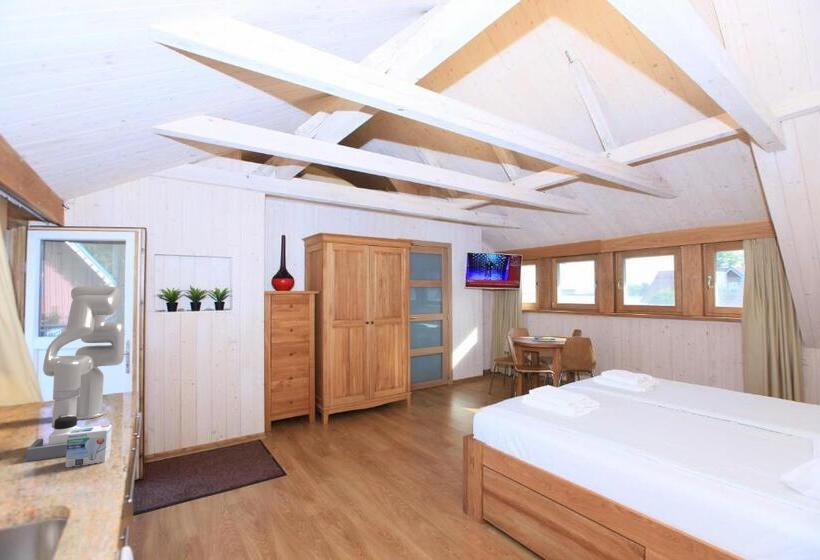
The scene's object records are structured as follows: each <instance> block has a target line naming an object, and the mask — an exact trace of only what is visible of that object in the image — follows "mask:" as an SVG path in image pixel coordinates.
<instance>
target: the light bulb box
mask: <svg viewBox="0 0 820 560" xmlns="http://www.w3.org/2000/svg"><path fill="white" fill-rule="evenodd" d="M112 428H113V426H112V424H110V423H109V424H105V425H94V426H85V427H83V426H82V427H81V428H74V429H73V430H72V431H71V432H70V433H69V434H68V438H67V452H66V456H65V466H64V467H67V468H72V466H75V467H81V466H80V465H82V466H87V465H88V464H90V465H94V463H97V464H101V463H100V462H104V463H106V462H107V460H108V459H109V457H110V456H111V445H112V444H111V442H112ZM109 455H110V456H109ZM107 458H108V459H107ZM105 461H106V462H105Z"/></svg>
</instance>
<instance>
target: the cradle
mask: <svg viewBox="0 0 820 560" xmlns="http://www.w3.org/2000/svg"><path fill="white" fill-rule="evenodd" d="M66 452H67V443H63V444H56V445H48V444H47V445H44V438H37V440H35V441H34V442H33V443H32V444H31V445H30V446H29V447H28V448H26V453H25V462H27V461H28V462H34V461H40V460H41V461H42V460H49V459H55V458H62V456H64V457H66ZM28 462H27V463H28Z"/></svg>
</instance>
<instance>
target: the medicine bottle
mask: <svg viewBox="0 0 820 560" xmlns="http://www.w3.org/2000/svg"><path fill="white" fill-rule="evenodd" d="M74 428H82V427H81V426H78V420H77V417H76V416H63V417H60V418H58V419H56V420H55V422H54V428H53V432H52V433H50V434H49V436H48V444H47V446H48V445H56V444H63V443H67V438H68V434H69V433H70V432H71V431H72V430H73V429H74Z"/></svg>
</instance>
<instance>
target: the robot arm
mask: <svg viewBox="0 0 820 560" xmlns="http://www.w3.org/2000/svg"><path fill="white" fill-rule="evenodd" d="M70 296H71V303H70V308H69V312H68V313H69V314H68V318H67V322H66V323H67V324H66V327H65V328H66V329H65V330H64V332H61V333H60V334H58V335H57V337H55V338H54V339H53V340H52V341H51V343H50V344H49V345H48V347H47V349H46V351H45V356H44V360H43V366H42V371H43V374H44V375H46V376H47V377H53V387H52V388H53V389H52V400H53V401H54V403H53V408H52V409H53V410H52V418H51V428H52V429H54V422H55V420H56V419H58V418H60V417H63V416H76V417H77V421H78V420H80V421H81V420H89V419H93V418H99V417H102V416H103V415H105V414H106V413H107V410H106V409H104V408H103V396H104V395H103V394H104V378H105V376H104V374H103V372H102V371H101V369H100V368H99V367H106V366H107V367H108V366H109V367H111V366H119V365H121V364H122V363H123V362H124V358H125V357H124V356H125V336H126V335H125V326H124V324H123V323H121V322H118V321H106V320H105V318H106V316H111V315H113V314H114V313H115V312H116V310H117V308H118V306H119V304H120V302H121V299H122V292H121V289H120V288H118V287H116V286H101V285H99V286H98V285H97V286H95V285H80V286H79V285H78V286H75V287H73V288H72V289H71V291H70ZM79 339H80V340H81V342H83V343H85V344H86V343H87V344H96V345H86V346H82V347H79V348H78V349H77V350H76V351H75V354H74V355H58V353H59V351H60V350H61V349H62V348H63V347H64V346H66V345H67V344H70V343H72V342H74V341H77V340H79ZM105 343H106V344H107V343H109V344H107V345H106V344H105ZM97 344H98V345H97ZM99 344H101V345H99Z"/></svg>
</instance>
